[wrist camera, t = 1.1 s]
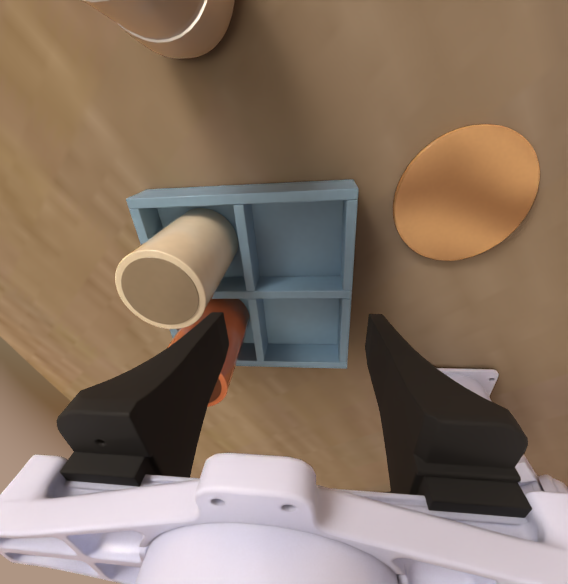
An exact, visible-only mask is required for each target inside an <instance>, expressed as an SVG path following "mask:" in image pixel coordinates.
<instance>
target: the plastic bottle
mask: <svg viewBox="0 0 568 584" xmlns="http://www.w3.org/2000/svg"><path fill="white" fill-rule="evenodd" d="M81 1H84V2H86V3H87V4H89V5H90V6H92V7H93V8H95V9H96V10H98V11H99V12H101V13H103V14H104V15H106V16H107V17H109V18H110V19H112V20H113V21H115V22H116V23H118V24H119V25H120V26H121V27H122V28H123V29H124V30H125V31H126V32H127V33H128V34H129V35H130V36H132V37H133V38H134V39H136V40H137V41H139V42H140V43H141V44H143V45H144V46H146V47H147V48H149V49H150V50H152V51H153V52H155V53H158V54H160V55H162V56H164V57H169V58H175V59H182V58H194V57H198V56H201V55H204V54H206V53H207V52H209V51H210V50H212V49H213V48H214V47H215V46H216V45H217V44H218V43H219V42H220V40H221V39H222V38H223V36H224V34H225V32H226V30H227V29H228V26H229V23H230V20H231V17H232V13H233V7H234V1H235V0H81Z"/></svg>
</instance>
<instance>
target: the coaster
mask: <svg viewBox="0 0 568 584" xmlns="http://www.w3.org/2000/svg"><path fill="white" fill-rule="evenodd" d="M539 180H540V169H539V162H538V159H537V156H536V153H535V151H534V149H533V148H532V146H531V144H530V143H529V142H528V141H527V140H526V139H525V138H524V137H523V136H522V135H520V134H519V133H517V132H516V131H514V130H512V129H509V128H506V127H503V126H498V125H491V124H478V125H470V126H466V127H462V128H458V129H456V130H453V131H451V132H448V133H446V134H444V135H443V136H441V137H439V138H437V139H436V140H434V141H433V142H431V143H430V144H429V145H427V146H426V147H425V148H424V149H423V150H422V151H420V153H419V154H418V155H417V156H416V157H415V158H414V159H413V160H412V161H411V163H410V164H409V165H408V167H407V168H406V170H405V171H404V173H403V175H402V177H401V179H400V181H399V183H398V186H397V189H396V192H395V196H394V201H393V218H394V222H395V226H396V228H397V231H398V233H399V235H400V236H401V238H402V240H403V241H404V242H405V243H406V244H407V246H409V247H410V248H411V249H412V250H413V251H415V252H416V253H418V254H420V255H422V256H424V257H427V258H431V259H435V260H445V261H450V260H460V259H465V258H469V257H472V256H475V255H478V254H480V253H483V252H485V251H487V250H489V249H491V248H492V247H494V246H495V245H497V244H499V243H500V242H501V241H503V240H504V239H505V238H507V237H508V236H509V235H510V234H511V233H512V232H513V231H514V230H515V229H516V228H517V227H518V226H519V225H520V223H521V222H522V221H523V219H524V218H525V217H526V215H527V213H528V212H529V210H530V208H531V207H532V204H533V202H534V200H535V197H536V194H537V191H538V186H539Z"/></svg>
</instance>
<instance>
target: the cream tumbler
mask: <svg viewBox="0 0 568 584" xmlns="http://www.w3.org/2000/svg"><path fill="white" fill-rule="evenodd" d="M237 251H238V238H237V234H236V232H235V230H234V228H233V226H232V225H231V223H230V222H229V221H228V220H227V219H226V218H225V217H224V216H222V215H221V214H219V213H218V212H215V211H213V210H210V209H206V208H194V209H191V210H188V211H186V212H185V213H183V214H182V215H180V216H179V217H178V218H176V219H175V220H174V221H172V222H171V223H170V224H168V225H167V226H166V227H164V228H163V229H162V230H160V231H159V232H158V233H156V234H155V235H154V236H152V237H151V238H150V239H148V240H147V241H146V242H144V243H143V244H142V245H140V246H139V247H137V248H136V249H135V250H133V251H132V252H131V253H129V254H128V255H127V256H126V257H124V258H123V259H122V260H121V262H120V263H119V265H118V267H117V270H116V274H115V284H116V288H117V291H118V294H119V296H120V298H121V300H122V301H123V303H124V304H125V305H126V307H127V308H128V309H129V310H130V311H131V312H132V313H133V314H135V315H136V316H137V317H139V318H140V319H142V320H143V321H145V322H147V323H149V324H151V325H154V326H157V327H161V328H166V329H180V328H184V327H188V326H190V325H192V324H194V323H195V322H196V321H198V320H199V319H200V317H201V316H202V315H203V313H204V311H205V309H206V308H207V306H208V304H209V302H210V301H211V299H212V297H213V295H214V294H215V292H216V290H217V288H218V286H219V285H220V283H221V281H222V279H223V278H224V276H225V274H226V272H227V271H228V269H229V267H230V265H231V264H232V262H233V260H234V258H235V256H236V254H237Z"/></svg>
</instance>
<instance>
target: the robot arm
mask: <svg viewBox="0 0 568 584" xmlns="http://www.w3.org/2000/svg"><path fill="white" fill-rule="evenodd" d="M228 347H229V339H228V334H227V329H226V323H225V318H224V313H223V312H211V313H210V314H209V315H208V316H206V317H205V318H204V319H203V320H202V321H201V322H199V323H198V324H197V325H196V326H195V327H194V328H192V329H191V330H190V331H189V332H188V333H186V334H185V335H184V336H183V337H181V338H180V339H179V340H178V341H176V342H175V343H174V344H172V345H171V346H170V347H168V348H167V349H165V350H164V351H162V352H161V353H159V354H158V355H156V356H155V357H153V358H151V359H150V360H148V361H146V362H144V363H143V364H141V365H139V366H137V367H135V368H133V369H132V370H130V371H127V372H125V373H123V374H121V375H119V376H117V377H115V378H112V379H110V380H108V381H105V382H103V383H100V384H97V385H95V386H92V387H90V388H87V389H84V390H81V391H80V392H79V393H78V394H77V395H76V397H75V398H74V399H73V400H72V401H71V402H70V404H69V405H68V406H67V407H66V408H65V409H64V411H63V412H62V413H61V414H60V415H59V416H58V419H57V427H58V430H59V431H60V433H61V434H62V436H63V437H64V439H65V440H66V441H67V443H68V444H69V445H70V447H71V448H72V449H73V451H74V453H73V454H72V455H71V457H70V458H69V460H67V459H66V458H64V457H60V456H50V455H33V456H32V457H31V459H30V460H29V461H28V462H27V463H26V465H25V466H24V467H23V468H22V469H21V471H20V472H19V473H18V474H17V475H16V477H15V478H14V479H13V480H12V482H11V483H10V484H9V485H8V486H7V487H6V489H5V490H4V491H3V492H2V494H1V495H0V554H1V555H2V556H4V557H5V558H7V559H8V560H9V561H11V562H13V563H20V564H27V565H35V566H41V567H46V568H52V569H58V570H63V571H68V572H72V573H78V574H82V575H86V576H91V577H96V578H100V579H104V580H109V581H113V582H118V583H122V584H568V488H567V486H566V485H565V484H564V483H563V482H561V481H559V480H556V479H554V478H552V477H551V476H549V475H542V476H538V475H537V474H536V473H535V472H534V470H533V468H532V467H531V465H530V463H529V462H528V460H527V458H526V457H525V455H524V453H525V451H526V448H527V446H528V440H527V437H526V435H525V434H524V432H523V431H522V429H521V427H520V426H519V424H518V423H517V421H516V420H515V418H514V417H513V416H512V414H511V413H510V412H509V410H508V409H506V408H503V407H501V406H499V405H497V404H495V403H493V402H492V401H491V399H490V398H489V396H490V394H491V392H492V390H493V387H494V385H495V383H496V381H497V378H498V376H499V374H498V372H497V371H496V370H493V369H452V368H436V367H434V366H433V365H432V364H431V363H429V362H428V361H427V360H426V359H424V358H423V357H422V356H421V355H420V354H419V353H418V352H417V351H415V350H414V349H413V348H412V347H411V346H410V345H409V344H408V343H407V342H406V341H405V340H404V338H403V337H402V336H401V335H400V334H399V333H398V332H397V331H396V330H395V329H394V327H393V326H392V325H391V324H390V323H389V322H388V320H387V319H386V318H385V317H384V316H383V315H382V314H369V318H368V327H367V335H366V343H365V350H366V358H367V365H368V369H369V373H370V376H371V380H372V384H373V388H374V391H375V395H376V399H377V403H378V406H379V411H380V416H381V422H382V428H383V435H384V442H385V448H386V455H387V463H388V471H389V478H390V487H391V493H382V492H369V491H356V490H343V489H330V488H327V487H323V486H319V485H316V474H315V472H314V470H313V468H312V467H311V466H310V465H309V464H307V463H306V462H304V461H302V460H301V459H296V458H292V457H286V456H271V455H255V454H240V453H219V454H215V455H213V456H211V457H210V458H208V459H207V460H206V461H205V464H204V468H203V471H202V474H201V477H200V478H190V474H191V469H192V465H193V460H194V456H195V452H196V447H197V443H198V439H199V435H200V431H201V428H202V424H203V420H204V417H205V413H206V410H207V406H208V403H209V400H210V398H211V395H212V393H213V390H214V388H215V385H216V383H217V380H218V378H219V375H220V373H221V370H222V368H223V365H224V362H225V359H226V355H227V351H228Z"/></svg>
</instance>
